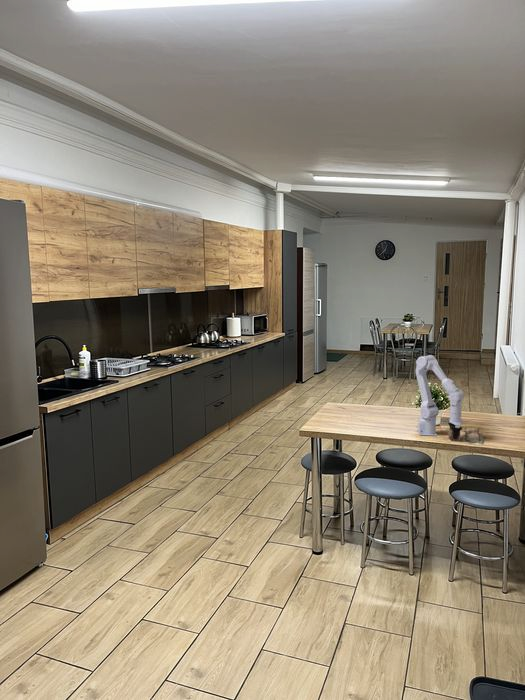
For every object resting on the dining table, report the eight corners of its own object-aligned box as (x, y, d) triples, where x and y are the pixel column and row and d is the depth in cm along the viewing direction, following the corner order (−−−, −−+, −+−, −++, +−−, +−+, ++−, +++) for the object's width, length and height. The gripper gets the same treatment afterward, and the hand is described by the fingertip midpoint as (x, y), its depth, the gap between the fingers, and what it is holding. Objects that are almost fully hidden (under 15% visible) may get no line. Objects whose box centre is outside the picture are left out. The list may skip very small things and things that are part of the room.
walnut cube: (450, 441, 292) (450, 432, 292) (448, 438, 297) (448, 429, 297) (459, 441, 292) (460, 432, 291) (458, 438, 297) (458, 429, 296)
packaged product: (483, 436, 286) (462, 434, 290) (482, 445, 287) (462, 443, 291) (482, 427, 303) (463, 425, 307) (482, 435, 304) (463, 434, 307)
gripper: (466, 416, 285) (465, 441, 287) (460, 409, 299) (459, 433, 301) (452, 415, 286) (451, 441, 288) (447, 409, 300) (446, 433, 302)
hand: (454, 437), depth 294 cm, fingers closed on walnut cube, 5 cm apart
